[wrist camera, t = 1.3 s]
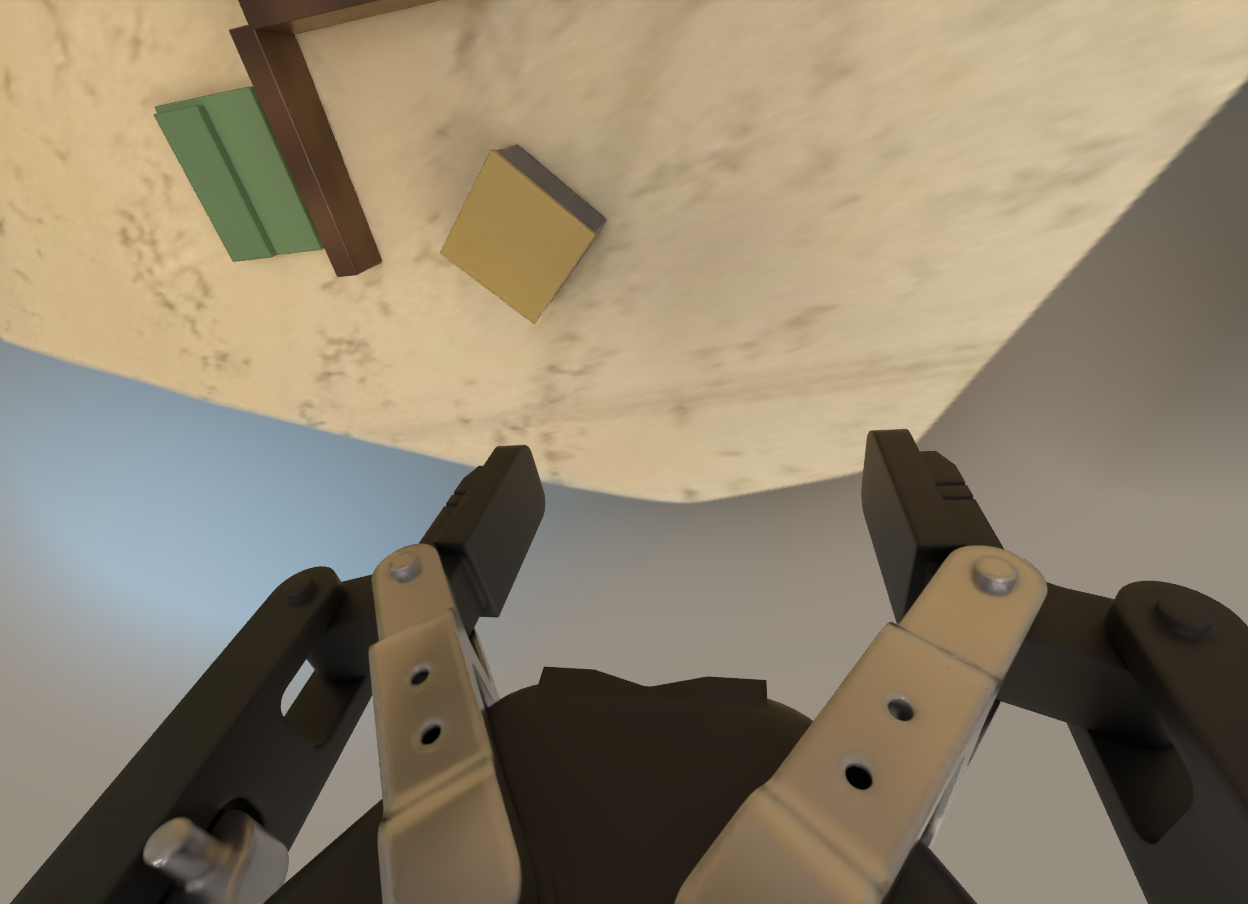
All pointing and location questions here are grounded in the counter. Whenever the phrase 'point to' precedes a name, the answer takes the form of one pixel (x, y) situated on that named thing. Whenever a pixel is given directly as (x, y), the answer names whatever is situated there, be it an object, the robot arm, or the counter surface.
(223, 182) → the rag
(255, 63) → the corner guide
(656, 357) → the counter surface
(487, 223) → the tea tin
